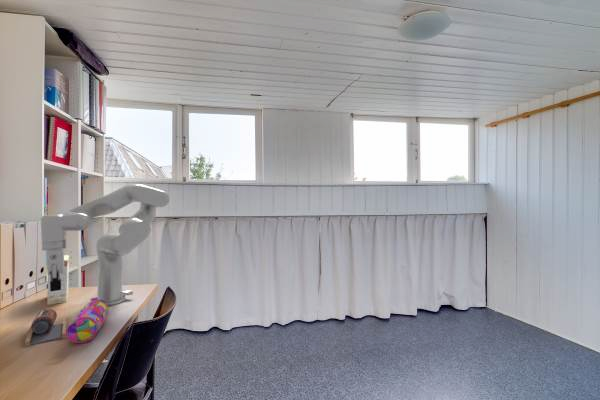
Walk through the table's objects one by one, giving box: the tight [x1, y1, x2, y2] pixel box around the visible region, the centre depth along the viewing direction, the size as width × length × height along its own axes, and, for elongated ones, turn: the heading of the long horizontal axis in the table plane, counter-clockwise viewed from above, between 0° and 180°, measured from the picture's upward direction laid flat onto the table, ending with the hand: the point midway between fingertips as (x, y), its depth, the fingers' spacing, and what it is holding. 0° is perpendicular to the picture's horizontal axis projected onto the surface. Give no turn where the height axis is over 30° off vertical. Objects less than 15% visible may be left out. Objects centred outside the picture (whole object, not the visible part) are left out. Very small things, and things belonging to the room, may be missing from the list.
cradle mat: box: [24, 319, 68, 347], centre depth 100 cm, size 10×14×2 cm
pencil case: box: [66, 297, 109, 344], centre depth 103 cm, size 22×9×9 cm, turn 27°
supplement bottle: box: [30, 308, 58, 334], centre depth 102 cm, size 6×6×11 cm
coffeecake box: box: [46, 254, 70, 305], centre depth 135 cm, size 15×7×20 cm, turn 36°
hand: (55, 290), depth 115 cm, fingers closed
